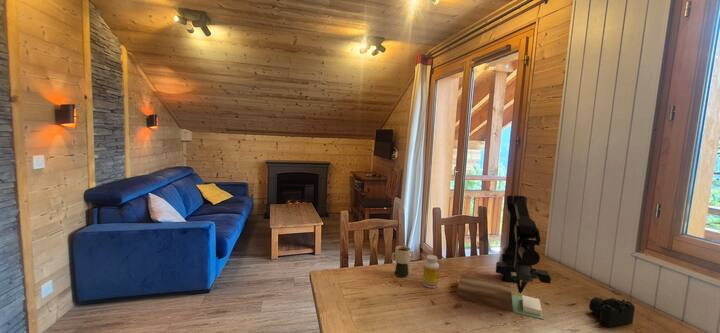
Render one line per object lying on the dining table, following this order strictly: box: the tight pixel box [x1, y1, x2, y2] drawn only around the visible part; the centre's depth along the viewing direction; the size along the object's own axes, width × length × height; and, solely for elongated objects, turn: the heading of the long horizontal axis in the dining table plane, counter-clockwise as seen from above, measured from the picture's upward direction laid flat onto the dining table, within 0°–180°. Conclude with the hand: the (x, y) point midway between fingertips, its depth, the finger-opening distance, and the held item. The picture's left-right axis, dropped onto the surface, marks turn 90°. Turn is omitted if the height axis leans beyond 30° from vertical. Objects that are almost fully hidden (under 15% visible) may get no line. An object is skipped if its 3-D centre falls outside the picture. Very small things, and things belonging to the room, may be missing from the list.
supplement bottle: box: [422, 254, 440, 289], centre depth 132 cm, size 7×7×13 cm
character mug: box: [391, 245, 415, 278], centre depth 140 cm, size 11×7×13 cm, turn 104°
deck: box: [456, 274, 513, 312], centre depth 124 cm, size 14×20×4 cm
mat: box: [512, 293, 544, 320], centre depth 118 cm, size 14×10×1 cm
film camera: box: [588, 296, 636, 329], centre depth 112 cm, size 15×10×9 cm, turn 106°
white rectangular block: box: [522, 294, 542, 316], centre depth 117 cm, size 9×6×2 cm, turn 154°
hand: (519, 292), depth 119 cm, fingers closed
